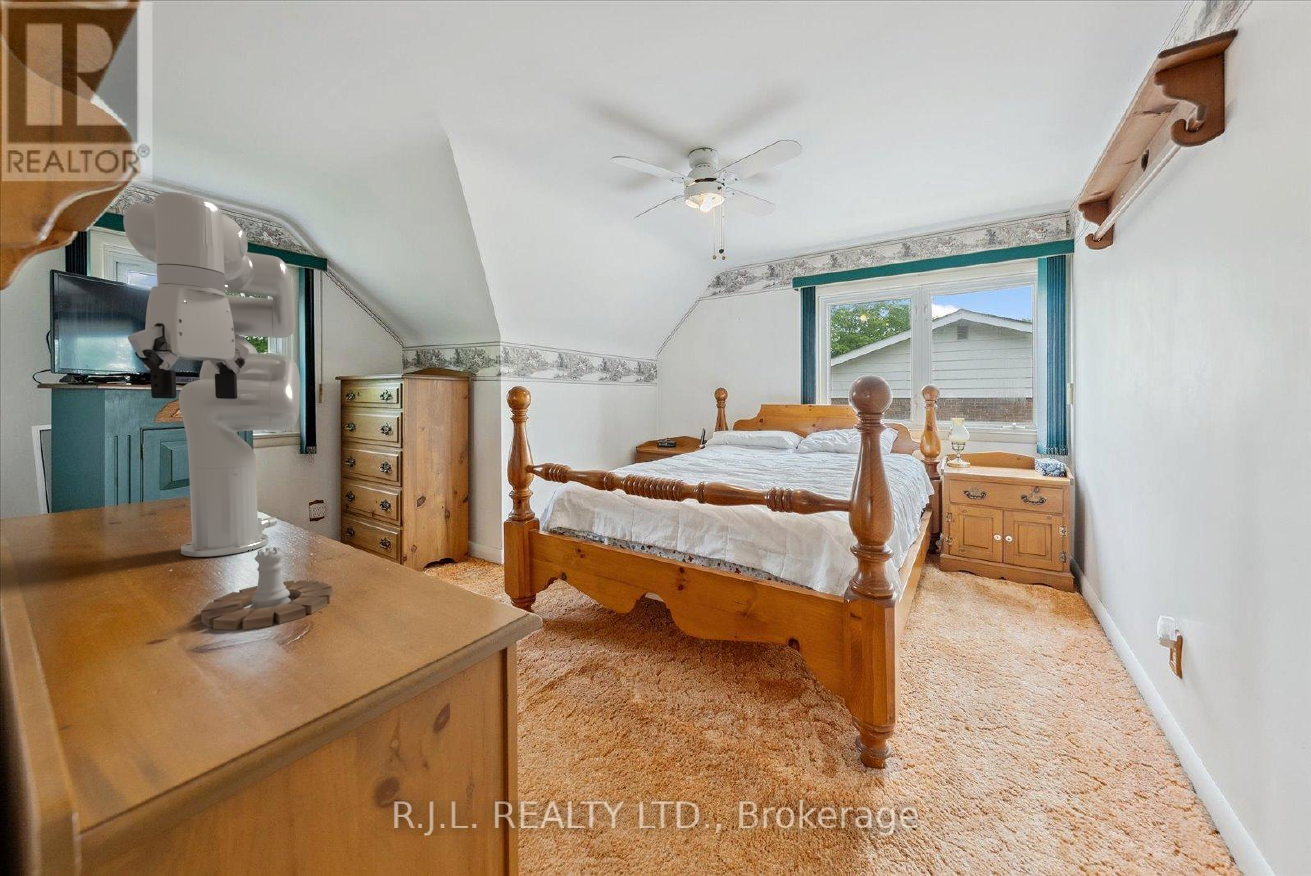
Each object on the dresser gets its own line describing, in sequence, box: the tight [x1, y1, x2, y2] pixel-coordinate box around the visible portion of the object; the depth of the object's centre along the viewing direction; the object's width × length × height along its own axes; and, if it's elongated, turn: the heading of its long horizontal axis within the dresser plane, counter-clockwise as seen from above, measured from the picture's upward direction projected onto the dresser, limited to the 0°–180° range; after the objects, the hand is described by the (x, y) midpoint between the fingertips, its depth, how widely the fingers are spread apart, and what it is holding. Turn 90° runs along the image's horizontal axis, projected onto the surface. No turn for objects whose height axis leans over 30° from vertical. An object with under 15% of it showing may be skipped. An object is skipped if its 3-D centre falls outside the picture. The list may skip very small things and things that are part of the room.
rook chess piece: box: [249, 546, 292, 609], centre depth 70 cm, size 4×4×8 cm
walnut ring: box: [200, 579, 334, 631], centre depth 70 cm, size 14×14×1 cm
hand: (197, 398), depth 77 cm, fingers open, 9 cm apart
